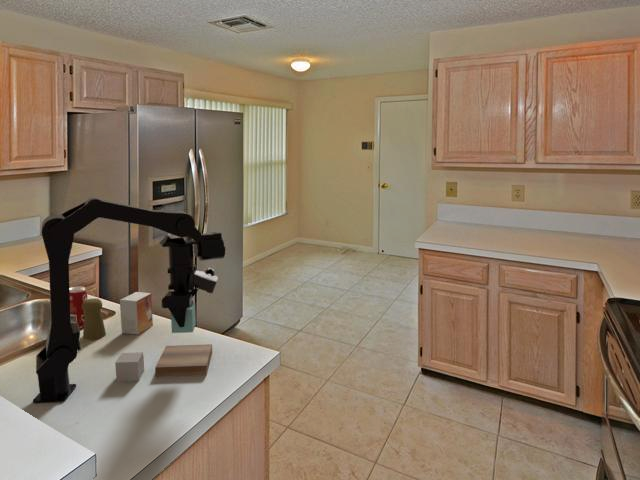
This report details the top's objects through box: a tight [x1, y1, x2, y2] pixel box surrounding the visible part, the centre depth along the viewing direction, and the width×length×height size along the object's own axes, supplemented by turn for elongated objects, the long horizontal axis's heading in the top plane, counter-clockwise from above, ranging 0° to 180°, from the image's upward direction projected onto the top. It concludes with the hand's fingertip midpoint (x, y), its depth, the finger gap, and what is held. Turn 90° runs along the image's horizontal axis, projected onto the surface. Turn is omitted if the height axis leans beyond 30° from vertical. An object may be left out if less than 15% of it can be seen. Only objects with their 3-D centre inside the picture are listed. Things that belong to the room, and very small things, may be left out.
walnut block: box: [154, 343, 213, 378], centre depth 112 cm, size 12×12×3 cm
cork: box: [82, 298, 107, 341], centre depth 126 cm, size 6×6×11 cm
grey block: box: [114, 351, 145, 383], centre depth 105 cm, size 5×5×5 cm
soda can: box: [69, 285, 89, 329], centre depth 133 cm, size 5×5×12 cm
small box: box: [119, 291, 154, 335], centre depth 132 cm, size 8×6×10 cm
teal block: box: [170, 301, 197, 334], centre depth 109 cm, size 5×5×6 cm
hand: (183, 322), depth 110 cm, fingers closed on teal block, 5 cm apart
